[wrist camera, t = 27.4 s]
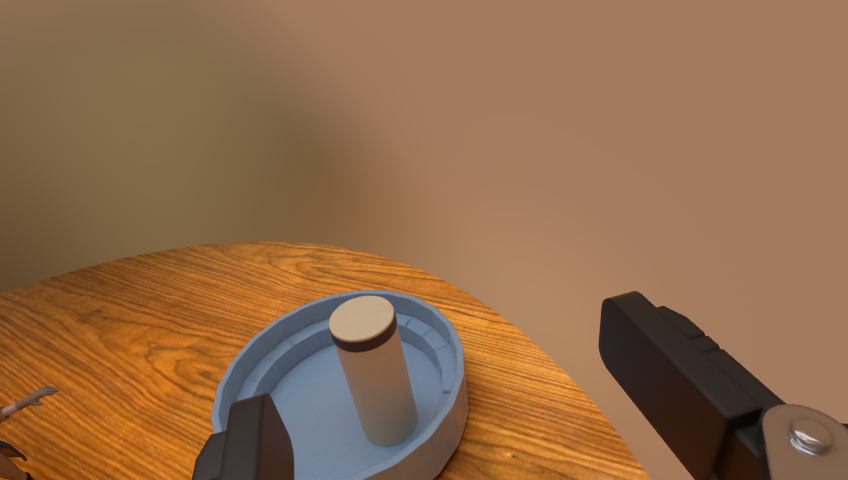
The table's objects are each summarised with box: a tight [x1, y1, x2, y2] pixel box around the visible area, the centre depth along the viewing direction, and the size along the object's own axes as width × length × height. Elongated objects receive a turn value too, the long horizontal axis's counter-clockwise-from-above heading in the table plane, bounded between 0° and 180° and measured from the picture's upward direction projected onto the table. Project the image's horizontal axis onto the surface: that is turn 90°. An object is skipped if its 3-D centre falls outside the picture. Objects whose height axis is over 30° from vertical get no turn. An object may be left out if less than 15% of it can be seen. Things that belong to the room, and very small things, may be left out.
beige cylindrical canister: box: [329, 296, 418, 446], centre depth 37 cm, size 5×5×12 cm
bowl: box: [211, 290, 469, 480], centre depth 41 cm, size 21×21×6 cm
